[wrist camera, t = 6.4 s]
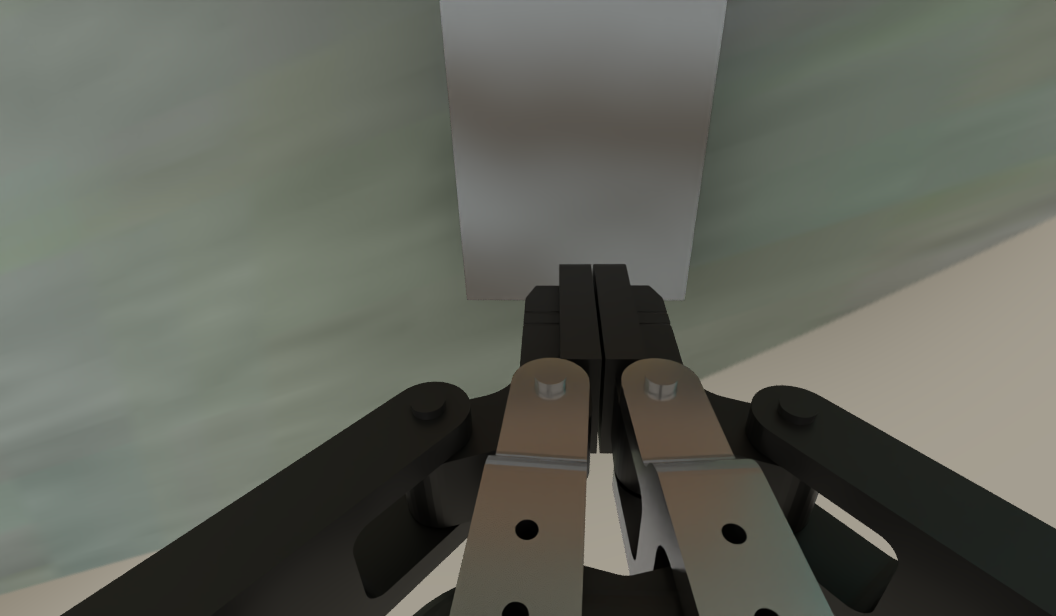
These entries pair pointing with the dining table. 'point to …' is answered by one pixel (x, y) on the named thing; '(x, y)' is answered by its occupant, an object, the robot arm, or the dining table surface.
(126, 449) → the dining table surface
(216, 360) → the dining table surface
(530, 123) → the grey flat plate
